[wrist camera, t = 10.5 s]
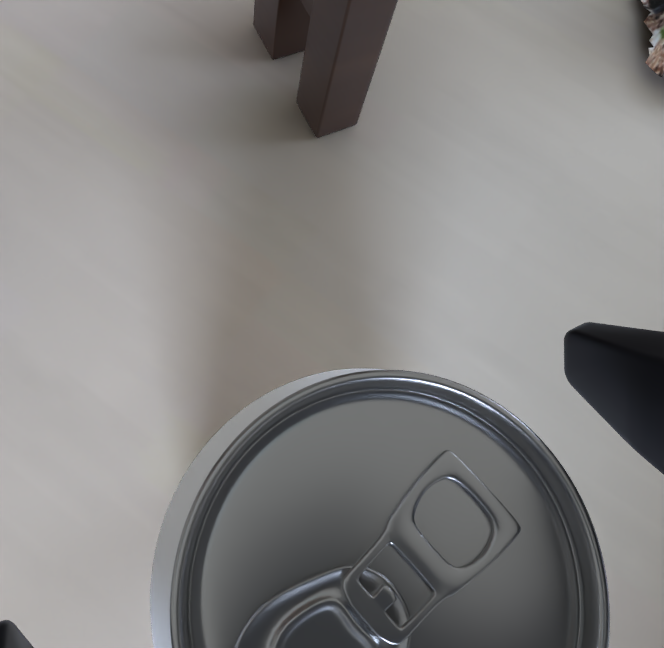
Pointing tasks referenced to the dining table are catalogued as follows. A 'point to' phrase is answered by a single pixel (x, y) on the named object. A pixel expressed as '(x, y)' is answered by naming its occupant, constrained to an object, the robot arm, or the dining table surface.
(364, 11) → the desk
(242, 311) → the dining table surface
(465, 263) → the dining table surface
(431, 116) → the dining table surface
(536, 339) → the dining table surface
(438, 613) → the can
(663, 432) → the robot arm
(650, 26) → the plant with pod
